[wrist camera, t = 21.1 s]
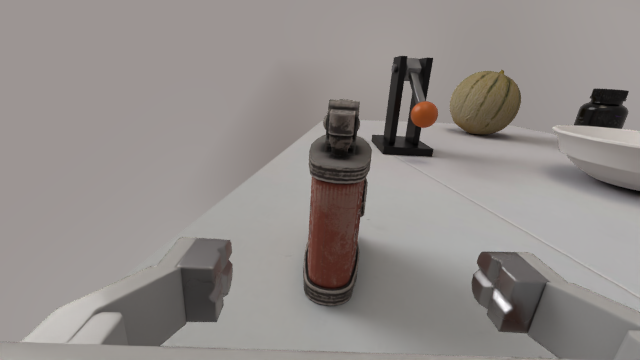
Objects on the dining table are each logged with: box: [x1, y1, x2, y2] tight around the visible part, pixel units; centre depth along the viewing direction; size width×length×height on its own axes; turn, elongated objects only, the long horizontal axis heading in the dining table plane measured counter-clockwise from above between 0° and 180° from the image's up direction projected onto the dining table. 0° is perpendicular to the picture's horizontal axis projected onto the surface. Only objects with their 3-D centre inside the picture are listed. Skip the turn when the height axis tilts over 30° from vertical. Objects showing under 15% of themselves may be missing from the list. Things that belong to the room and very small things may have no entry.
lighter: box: [303, 99, 372, 305], centre depth 18 cm, size 8×3×10 cm, turn 174°
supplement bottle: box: [574, 89, 628, 129], centre depth 56 cm, size 7×7×12 cm
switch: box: [404, 58, 438, 128], centre depth 45 cm, size 14×4×4 cm
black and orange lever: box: [372, 56, 433, 156], centre depth 50 cm, size 10×8×15 cm
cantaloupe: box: [450, 70, 521, 135], centre depth 71 cm, size 15×15×15 cm
